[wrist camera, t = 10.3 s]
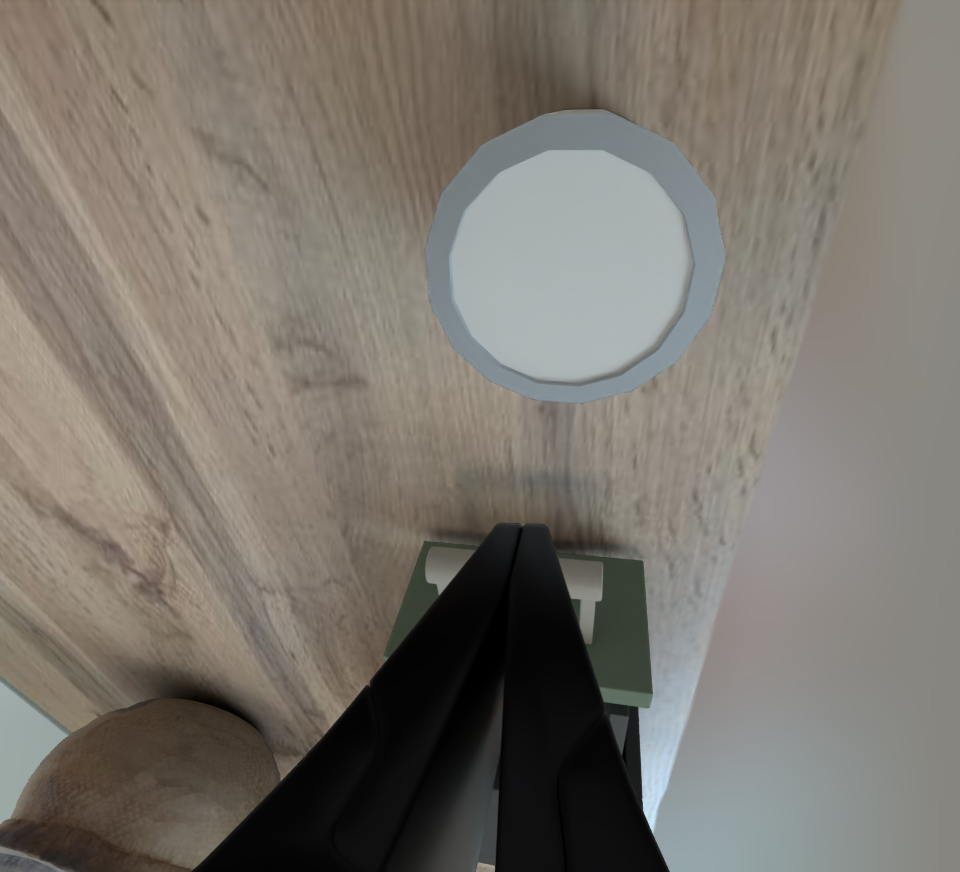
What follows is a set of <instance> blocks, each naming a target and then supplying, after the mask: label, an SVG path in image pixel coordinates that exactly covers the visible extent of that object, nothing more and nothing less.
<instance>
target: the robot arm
mask: <svg viewBox="0 0 960 872" xmlns="http://www.w3.org/2000/svg"><path fill="white" fill-rule="evenodd" d="M500 751H501V755H500ZM499 756H500V776H499V798H498V819H497V840H496V862H495V872H670V871H669V869H668V867H667V865H666V862H665V860H664V858H663V856H662V854H661V851H660V849H659V847H658V845H657V842H656V840H655V838H654V836H653V834H652V831H651V829H650V826H649V824H648V822H647V819H646V817H645V814H644V812H643V810H642V807H641V805H640V803H639V800H638V798H637V795H636V793H635V791H634V788H633V786H632V783H631V780H630V778H629V775H628V772H627V769H626V766H625V763H624V761H623V758H622V755H621V752H620V749H619V746H618V744H617V740H616V737H615V734H614V731H613V728H612V725H611V721H610V718H609V716H608V715H607V714H606V707H605V704H604V700H603V697H602V694H601V691H600V688H599V685H598V682H597V678H596V675H595V672H594V669H593V666H592V663H591V660H590V656H589V653H588V650H587V647H586V644H585V641H584V638H583V634H582V631H581V628H580V625H579V622H578V619H577V616H576V612H575V609H574V606H573V603H572V600H571V597H570V594H569V591H568V587H567V584H566V581H565V578H564V575H563V572H562V569H561V565H560V562H559V559H558V556H557V553H556V550H555V547H554V543H553V540H552V537H551V534H550V531H549V528H548V526H547V525H545V524H525V525H524V526H522V525H521V524H519V523H499V524H497V525H496V526H495V527H494V528H493V530H492V531H491V532H490V533H489V535H488V536H487V537H486V538H485V539H484V541H483V542H482V543H481V544H480V546H479V547H478V548H477V549H476V551H475V552H474V553H473V554H472V556H471V557H470V558H469V559H468V560H467V562H466V563H465V564H464V565H463V567H462V568H461V569H460V570H459V572H458V573H457V574H456V575H455V577H454V578H453V579H452V580H451V581H450V583H449V584H448V585H447V586H446V588H445V589H444V590H443V591H442V593H441V594H440V595H439V596H438V598H437V599H436V600H435V601H434V602H433V604H432V605H431V606H430V607H429V609H428V610H427V611H426V612H425V614H424V615H423V616H422V617H421V618H420V620H419V621H418V622H417V623H416V625H415V626H414V627H413V628H412V630H411V631H410V632H409V633H408V635H407V636H406V637H405V638H404V639H403V641H402V642H401V643H400V644H399V646H398V647H397V648H396V649H395V651H394V652H393V653H392V654H391V656H390V657H389V658H388V659H387V660H386V662H385V663H384V664H383V665H382V667H381V668H380V669H379V670H378V672H377V673H376V674H375V675H374V676H373V678H372V679H371V680H370V686H369V685H366V686H365V687H364V688H363V690H362V691H361V692H360V693H359V695H358V696H357V697H356V698H355V700H354V701H353V702H352V703H351V705H350V706H349V707H348V708H347V709H346V710H345V712H344V713H343V714H342V715H341V716H340V718H339V719H338V720H337V721H336V722H335V723H334V725H333V726H332V727H331V728H330V729H329V730H328V732H327V733H326V734H325V735H324V736H323V737H322V738H321V740H320V741H319V742H318V743H317V744H316V745H315V746H314V747H313V748H312V749H311V750H310V751H309V752H308V753H307V754H306V756H305V757H304V758H303V759H302V760H301V761H300V762H299V763H298V764H297V765H296V766H295V767H294V768H293V769H292V770H291V771H290V773H289V774H288V775H287V776H286V777H285V778H284V779H283V780H282V781H281V782H280V783H279V784H278V785H277V786H276V787H275V788H274V789H273V790H272V791H271V792H270V793H269V794H268V795H267V796H266V797H265V798H264V799H263V800H262V801H261V802H260V803H259V804H258V805H257V806H256V807H255V808H254V809H253V810H252V811H251V812H250V813H249V814H248V815H247V816H246V818H245V819H244V820H243V821H242V822H241V823H240V824H239V825H238V826H237V827H236V828H235V829H234V830H233V831H232V832H231V833H230V834H229V835H228V836H227V837H226V838H225V839H224V840H223V841H222V842H221V843H220V844H219V845H218V846H217V847H216V848H215V849H214V850H213V851H212V852H211V853H210V854H209V855H208V856H207V857H206V858H205V859H204V860H203V861H202V862H201V863H200V864H199V865H198V866H196V867H195V868H194V869H193V870H192V871H191V872H476V869H477V864H478V859H479V854H480V849H481V844H482V839H483V834H484V830H485V825H486V820H487V815H488V810H489V805H490V800H491V795H492V791H493V786H494V781H495V776H496V771H497V766H498V761H499Z"/></svg>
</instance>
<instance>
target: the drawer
mask: <svg viewBox="0 0 960 872" xmlns="http://www.w3.org/2000/svg"><path fill="white" fill-rule="evenodd" d="M478 547H479V546H475V545H464V544H453V543H442V542H431V541H424V544H423V546H422V549H421V552H420V555H419V558H418V560H417V563H416V566H415V569H414V572H413V574H412V577H411V580H410V583H409V586H408V588H407V591H406V594H405V597H404V600H403V602H402V605H401V608H400V611H399V614H398V616H397V619H396V622H395V625H394V628H393V630H392V633H391V636H390V639H389V642H388V644H387V647H386V650H385V653H384V656H383V658H384V661H385V662H386V660H387V659H388V658H389V657H390V656H391V654H392V653H393V652H394V651H395V649H396V648H397V647H398V646H399V644H400V643H401V642H402V641H403V639H404V638H405V637H406V636H407V635H408V633H409V632H410V631H411V630H412V628H413V627H414V626H415V625H416V623H417V622H418V621H419V620H420V618H421V617H422V616H423V615H424V614H425V612H426V611H427V610H428V609H429V607H430V606H431V605H432V604H433V602H434V601H435V600H436V599H437V598H438V596H439V595H440V594H441V593H442V591H443V590H444V589H445V588H446V586H447V585H448V584H449V583H450V581H451V580H452V579H453V578H454V577H455V575H456V574H457V573H458V572H459V570H460V569H461V568H462V567H463V565H464V564H465V563H466V562H467V560H468V559H469V558H470V557H471V556H472V554H473V553H474V552H475V551H476V549H477V548H478ZM557 556H558V559H559V562H560V565H561V569H562V572H563V575H564V578H565V581H566V584H567V587H568V591H569V594H570V597H571V600H572V603H573V606H574V609H575V612H576V616H577V619H578V622H579V625H580V628H581V631H582V634H583V638H584V641H585V644H586V647H587V650H588V653H589V656H590V660H591V663H592V666H593V669H594V672H595V675H596V678H597V682H598V685H599V688H600V691H601V694H602V697H603V700H604V704H605V707H606V714H607V715H608V716H609V718H610V721H611V725H612V728H613V731H614V734H615V737H616V740H617V744H618V746H619V749H620V752H621V755H622V752H623V747H624V741H625V736H626V730H627V725H628V719H629V706H635V707H642V708H649V707H650V703H651V699H652V695H653V691H652V677H651V663H650V648H649V634H648V620H647V606H646V592H645V577H644V563H643V561H640V560H629V559H618V558H607V557H596V556H585V555H574V554H563V553H557ZM500 755H501V751H500ZM496 774H500V756H499V761H498V766H497V771H496Z"/></svg>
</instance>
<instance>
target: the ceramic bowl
mask: <svg viewBox="0 0 960 872" xmlns="http://www.w3.org/2000/svg"><path fill="white" fill-rule="evenodd" d="M280 782H281V780H280V773H279V770H278V767H277V765H276V762H275V759H274V756H273V752H272V750H271V748H270V747H269V745H268V743H267V741H266V740H265V739H264V737H263V736H262V735H261V734H260V733H259V732H258V731H257V729H255V728H254V727H253V726H252V725H250V724H249V723H247V722H246V721H244V720H243V719H241V718H239V717H237V716H236V715H234V714H232V713H230V712H227V711H225V710H222V709H220V708H217V707H214V706H211V705H208V704H204V703H200V702H197V701H193V700H184V699H178V698H158V699H151V700H148V701H144V702H140V703H138V704H135V705H133V706H131V707H129V708H125V709H119V710H115V711H111V712H108V713H106V714H104V715H102V716H100V717H98V718H96V719H95V720H93V721H91V722H90V723H88V724H87V725H85V726H84V727H82V728H80V729H78V730H77V731H75V732H73V733H72V734H70V735H69V736H68V737H66V738H65V739H63V740H62V741H61V742H60V743H59V744H58V745H57V746H56V747H55V748H54V749H53V750H52V751H51V752H50V753H49V754H48V755H47V756H46V758H45V759H44V760H43V761H42V762H41V763H40V765H39V766H38V768H37V769H36V770H35V772H34V773H33V774H32V776H31V777H30V779H29V780H28V782H27V784H26V786H25V787H24V789H23V791H22V793H21V795H20V797H19V799H18V801H17V804H16V807H15V810H14V812H13V814H12V816H11V818H10V819H8V820H5V821H4V822H3V823H2V824H0V872H191V871H192V870H193V869H194V868H195V867H196V866H198V865H199V864H200V863H201V862H202V861H203V860H204V859H205V858H206V857H207V856H208V855H209V854H210V853H211V852H212V851H213V850H214V849H215V848H216V847H217V846H218V845H219V844H220V843H221V842H222V841H223V840H224V839H225V838H226V837H227V836H228V835H229V834H230V833H231V832H232V831H233V830H234V829H235V828H236V827H237V826H238V825H239V824H240V823H241V822H242V821H243V820H244V819H245V818H246V816H247V815H248V814H249V813H250V812H251V811H252V810H253V809H254V808H255V807H256V806H257V805H258V804H259V803H260V802H261V801H262V800H263V799H264V798H265V797H266V796H267V795H268V794H269V793H270V792H271V791H272V790H273V789H274V788H275V787H276V786H277V785H278V784H279V783H280Z"/></svg>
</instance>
